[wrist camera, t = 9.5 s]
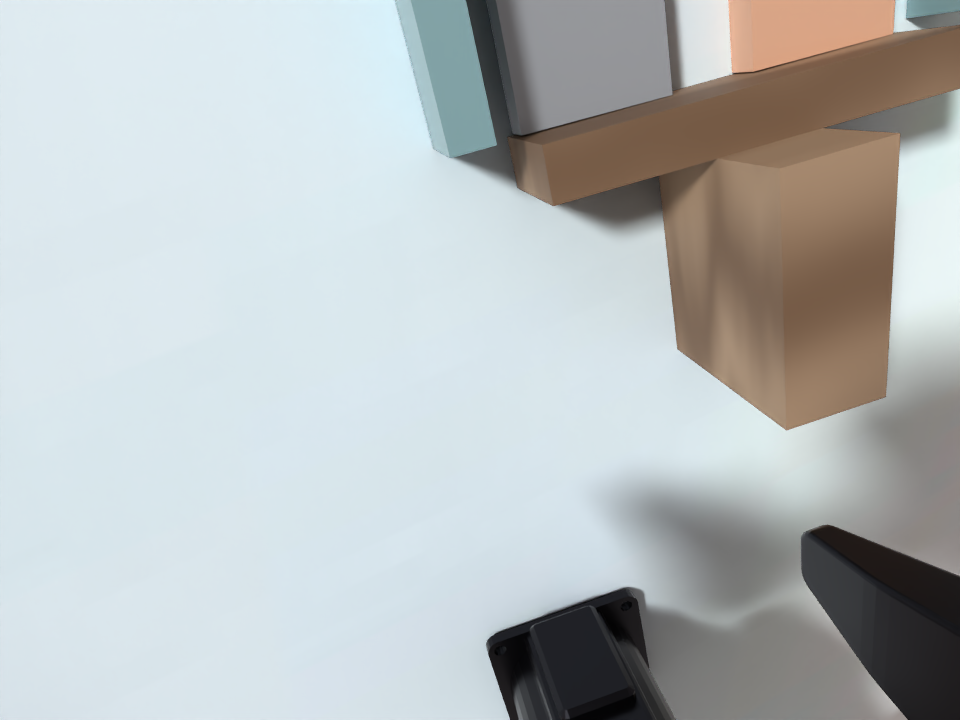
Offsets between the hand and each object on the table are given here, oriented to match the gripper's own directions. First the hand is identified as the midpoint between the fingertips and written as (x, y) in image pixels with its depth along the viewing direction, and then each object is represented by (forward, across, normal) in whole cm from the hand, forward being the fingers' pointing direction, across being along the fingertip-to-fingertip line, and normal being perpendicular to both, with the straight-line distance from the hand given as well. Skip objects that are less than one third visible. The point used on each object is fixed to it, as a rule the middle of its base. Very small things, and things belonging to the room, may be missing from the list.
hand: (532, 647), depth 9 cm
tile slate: (+12, -6, -8) cm, 16 cm away
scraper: (+12, -10, -1) cm, 16 cm away
